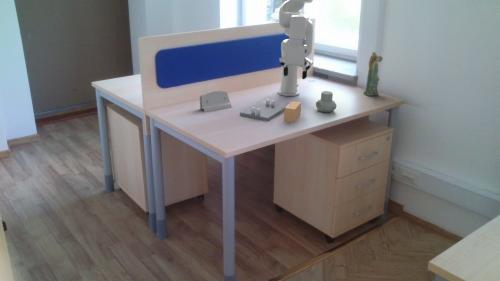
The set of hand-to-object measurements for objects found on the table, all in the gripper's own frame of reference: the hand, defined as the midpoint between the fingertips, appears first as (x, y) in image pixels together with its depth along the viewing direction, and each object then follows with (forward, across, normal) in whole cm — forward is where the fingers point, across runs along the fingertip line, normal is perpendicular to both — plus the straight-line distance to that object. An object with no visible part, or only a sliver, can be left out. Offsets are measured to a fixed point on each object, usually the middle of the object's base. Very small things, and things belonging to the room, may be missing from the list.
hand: (294, 77), depth 234 cm
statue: (+21, -22, -63) cm, 70 cm away
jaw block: (+21, 0, 0) cm, 21 cm away
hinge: (+21, +42, +7) cm, 48 cm away
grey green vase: (+21, -10, -20) cm, 31 cm away
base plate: (+21, +17, 0) cm, 27 cm away
